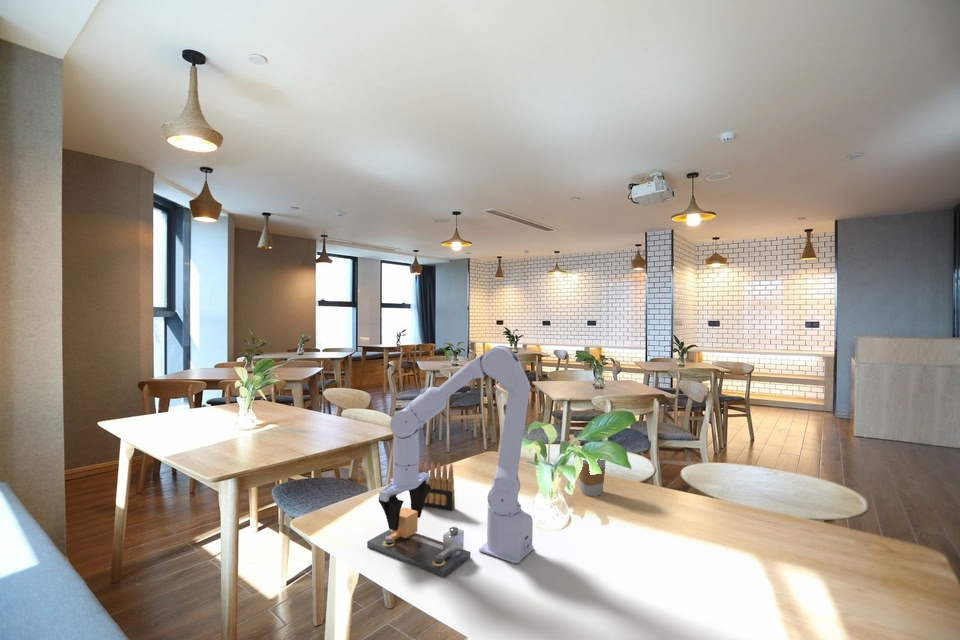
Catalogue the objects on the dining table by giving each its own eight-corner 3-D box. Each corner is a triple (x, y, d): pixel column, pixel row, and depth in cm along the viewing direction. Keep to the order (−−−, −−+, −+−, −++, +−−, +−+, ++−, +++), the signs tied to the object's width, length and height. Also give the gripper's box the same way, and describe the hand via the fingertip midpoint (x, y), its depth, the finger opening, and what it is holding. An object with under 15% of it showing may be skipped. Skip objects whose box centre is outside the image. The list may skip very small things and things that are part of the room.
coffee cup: (609, 491, 135) (610, 440, 135) (601, 500, 128) (602, 446, 128) (582, 485, 139) (583, 435, 139) (572, 493, 132) (573, 442, 132)
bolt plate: (470, 557, 96) (470, 529, 96) (444, 577, 88) (445, 546, 88) (395, 531, 107) (396, 505, 107) (367, 546, 100) (367, 519, 100)
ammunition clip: (454, 508, 121) (455, 463, 121) (452, 511, 119) (453, 465, 119) (417, 503, 124) (418, 458, 124) (414, 505, 122) (415, 460, 122)
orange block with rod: (417, 531, 104) (417, 511, 104) (392, 545, 97) (393, 524, 97) (404, 526, 106) (404, 507, 106) (379, 540, 99) (379, 519, 99)
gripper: (413, 451, 111) (412, 507, 111) (369, 467, 99) (368, 530, 99) (436, 456, 108) (435, 514, 108) (393, 474, 95) (392, 539, 95)
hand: (405, 522), depth 103 cm, fingers open, 7 cm apart
